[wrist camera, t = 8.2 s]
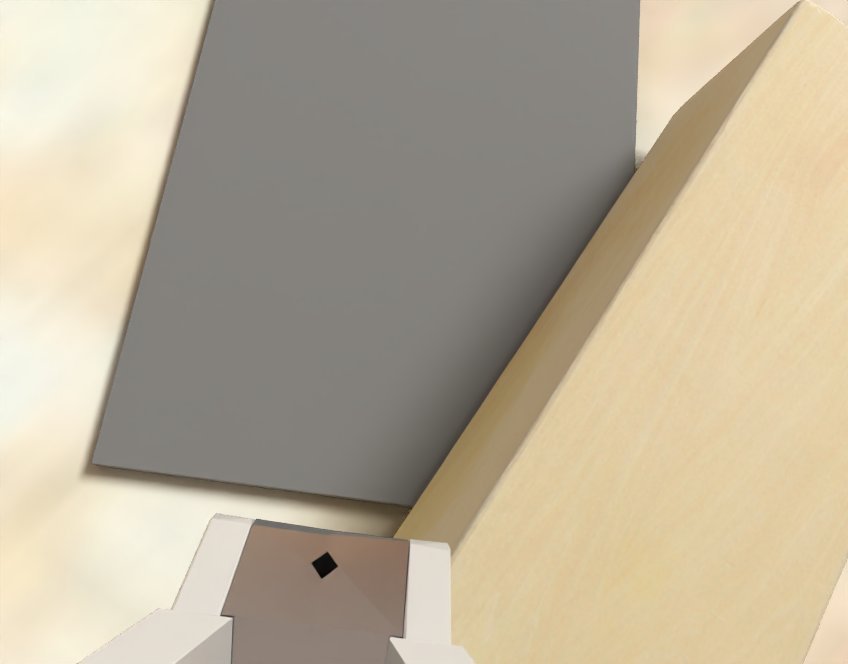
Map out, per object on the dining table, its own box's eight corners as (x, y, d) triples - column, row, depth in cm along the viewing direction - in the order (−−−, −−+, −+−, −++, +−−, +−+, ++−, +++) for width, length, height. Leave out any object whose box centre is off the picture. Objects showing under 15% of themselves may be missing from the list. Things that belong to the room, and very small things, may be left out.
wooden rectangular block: (550, 796, 21) (829, 247, 28) (704, 933, 14) (1025, 159, 21) (320, 634, 21) (661, 115, 28) (365, 694, 14) (805, -19, 21)
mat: (617, 534, 23) (622, 533, 23) (97, 465, 23) (91, 463, 22) (640, -131, 33) (644, -142, 32) (270, -192, 32) (269, -203, 32)
